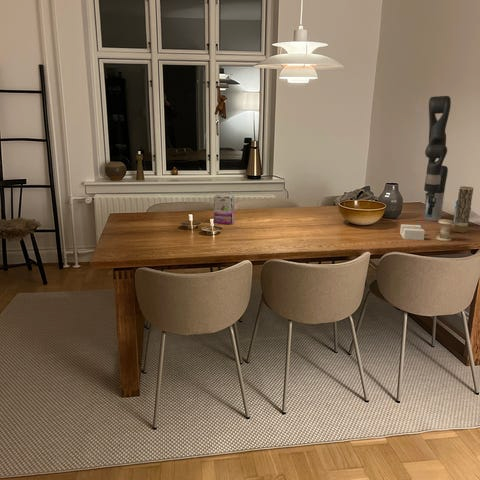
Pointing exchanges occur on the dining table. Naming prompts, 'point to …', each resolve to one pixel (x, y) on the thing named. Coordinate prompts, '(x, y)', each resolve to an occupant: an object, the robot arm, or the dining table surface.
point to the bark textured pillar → (463, 209)
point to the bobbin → (445, 230)
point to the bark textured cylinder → (456, 209)
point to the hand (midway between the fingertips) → (428, 213)
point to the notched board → (412, 232)
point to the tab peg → (427, 210)
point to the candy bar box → (224, 209)
